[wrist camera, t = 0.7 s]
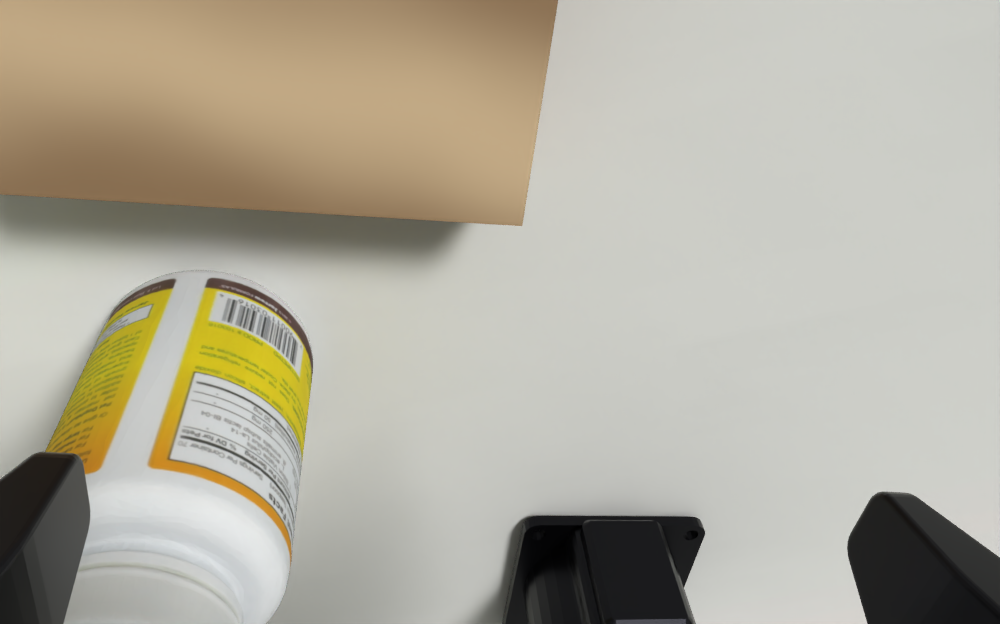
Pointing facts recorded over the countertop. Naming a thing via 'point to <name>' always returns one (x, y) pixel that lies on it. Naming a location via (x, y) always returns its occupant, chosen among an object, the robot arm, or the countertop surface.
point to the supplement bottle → (189, 453)
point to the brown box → (277, 104)
